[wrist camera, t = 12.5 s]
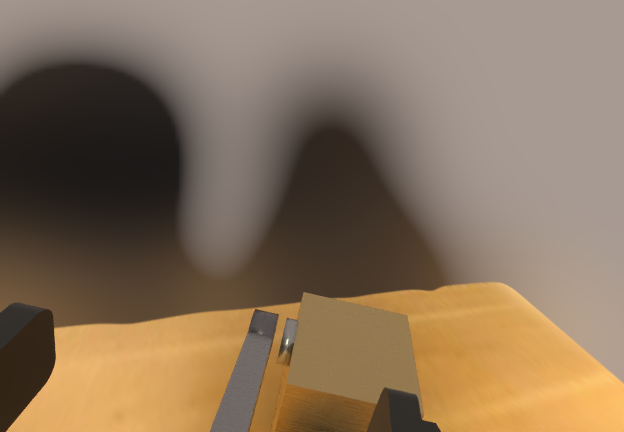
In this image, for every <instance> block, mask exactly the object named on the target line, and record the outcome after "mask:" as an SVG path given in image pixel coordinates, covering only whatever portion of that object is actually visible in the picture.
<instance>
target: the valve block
mask: <svg viewBox="0 0 624 432" xmlns="http://www.w3.org/2000/svg"><path fill="white" fill-rule="evenodd" d="M277 364H281V365H286V368H285V372H284V376H283V380H282V384H281V388H280V393H279V397H278V401H277V405H276V409H275V413H274V417H273V422H272V426H271V430H270V432H367V428H368V426H369V423H370V421H371V418H372V415H373V413H374V410H375V408H376V405H377V403H378V400H379V397H380V395H381V392H382V390H383V389H384V388H385V387H386V388H390V389H395V390H399V391H404V392H408V393H412V394H416V395H417V397H418V400H419V406H420V412H421V419H422V418H423V415H424V413H423V407H422V401H421V395H420V389H419V383H418V377H417V371H416V365H415V359H414V353H413V347H412V341H411V335H410V329H409V323H408V317H407V315H402V314H398V313H393V312H389V311H384V310H380V309H376V308H371V307H367V306H362V305H358V304H354V303H349V302H345V301H340V300H336V299H332V298H327V297H323V296H318V295H314V294H309V293H303V297H302V301H301V305H300V310H299V314H298V318H297V320H294V319H290V318H287V320H286V324H285V329H284V333H283V337H282V342H281V346H280V351H279V355H278V359H277Z"/></svg>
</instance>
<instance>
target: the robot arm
mask: <svg viewBox="0 0 624 432" xmlns="http://www.w3.org/2000/svg"><path fill="white" fill-rule="evenodd" d="M55 359H56V354H55V338H54V325H53V314H52V312H51V311H50V310H48V309H44V308H39V307H35V306H30V305H26V304H22V303H13V304H11V305H9V306H8V307H7V308H6V309H5V310H3V311H2V312H1V313H0V432H6V431H7V430H8V428H9V427H10V426H11V425H12V423H13V422H14V421H15V420H16V419H17V417H18V416H19V415H20V414H21V413H22V411H23V410H24V409H25V408H26V407H27V405H28V404H29V403H30V402H31V401H32V399H33V398H34V397H35V396H36V395H37V393H38V392H39V391H40V390H41V389H42V387H43V386H44V385H45V384H46V382H47V381H48V379H49V377H50V375H51V373H52V371H53V368H54V365H55ZM367 432H441V431H440V429H439V428H438V426H437V424H436V423H432V422H428V421H423V420H422V419H421V412H420V406H419V400H418V397H417V395H416V394H412V393H408V392H404V391H399V390H395V389H390V388H386V387H385V388H384V389H383V390H382V392H381V395H380V397H379V400H378V403H377V405H376V408H375V410H374V413H373V415H372V418H371V421H370V423H369V426H368V428H367Z"/></svg>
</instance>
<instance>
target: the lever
mask: <svg viewBox="0 0 624 432" xmlns="http://www.w3.org/2000/svg"><path fill="white" fill-rule="evenodd" d="M278 316H279V314H274V313H270V312H266V311H261V310H257V309H255V311H254V314H253V317H252V320H251V323H250V327H249V331H248V334H247V336H246V339H245V341H244V344H243V347H242V349H241V352H240V354H239V357H238V360H237V362H236V365H235V367H234V370H233V373H232V375H231V378H230V381H229V383H228V386H227V388H226V391H225V394H224V396H223V399H222V401H221V404H220V407H219V409H218V412H217V414H216V417H215V420H214V422H213V425H212V427H211V430H210V432H249V430H250V426H251V422H252V418H253V415H254V411H255V407H256V403H257V399H258V396H259V392H260V388H261V384H262V380H263V377H264V373H265V369H266V365H267V363H268V359H269V355H270V351H271V347H272V343H273V339H274V334H275V330H276V325H277V321H278Z"/></svg>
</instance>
